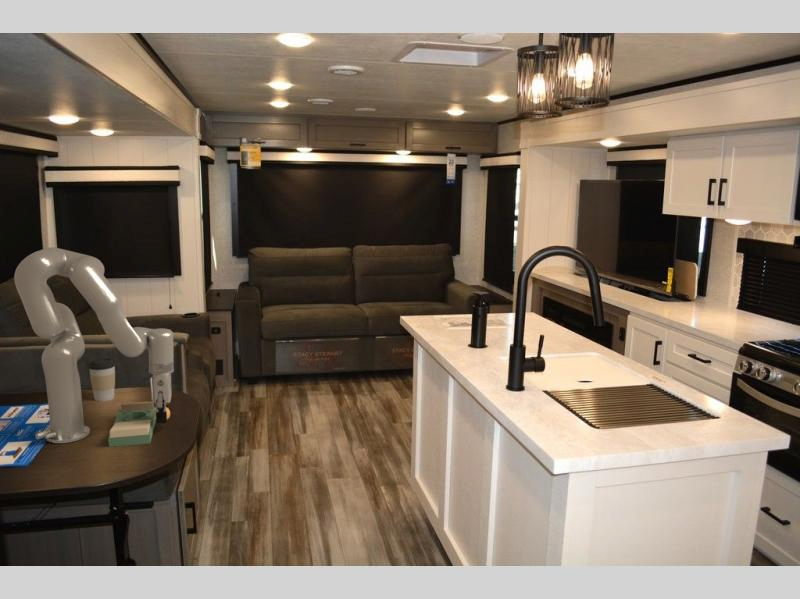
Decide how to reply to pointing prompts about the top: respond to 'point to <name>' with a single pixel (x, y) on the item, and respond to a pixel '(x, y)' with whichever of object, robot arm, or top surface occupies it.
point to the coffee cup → (102, 378)
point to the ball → (167, 413)
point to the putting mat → (133, 423)
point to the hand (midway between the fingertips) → (162, 419)
